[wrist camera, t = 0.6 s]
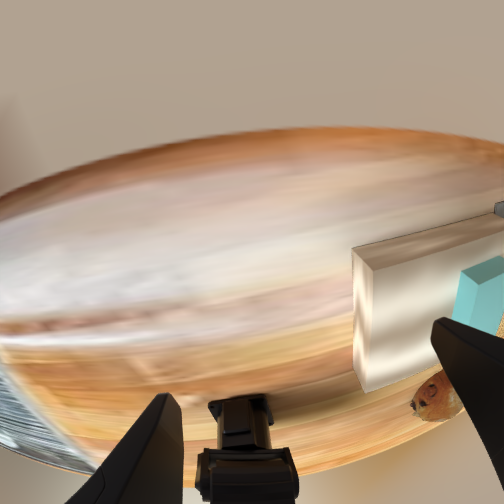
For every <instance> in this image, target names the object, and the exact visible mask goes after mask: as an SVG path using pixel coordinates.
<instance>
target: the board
mask: <svg viewBox="0 0 504 504" xmlns="http://www.w3.org/2000/svg"><path fill="white" fill-rule="evenodd" d="M499 255H500V256H501V257H503V258H504V218H502V217H500V216H497V215H495V214H493V213H490V214H487V215H483V216H479V217H475V218H472V219H468V220H464V221H460V222H456V223H453V224H449V225H445V226H441V227H437V228H433V229H429V230H425V231H421V232H417V233H413V234H409V235H405V236H401V237H397V238H393V239H389V240H385V241H381V242H377V243H373V244H369V245H364V246H360V247H356V248H352V267H353V298H354V335H353V366H352V367H353V369H354V371H355V373H356V375H357V378H358V380H359V382H360V384H361V386H362V388H363V391H364V393H368V392H371V391H374V390H377V389H379V388H382V387H385V386H387V385H390V384H393V383H395V382H398V381H400V380H403V379H405V378H408V377H410V376H412V375H415V374H417V373H419V372H422V371H424V370H426V369H428V368H430V367H432V366H435V365H437V364H439V363H440V361H439V359H438V357H437V355H436V353H435V351H434V349H433V347H432V345H431V341H430V336H431V331H432V326H433V322H434V321H435V320H436V319H438V318H441V317H447V318H450V319H451V318H452V314H453V309H454V305H455V300H456V295H457V290H458V285H459V279H460V273H461V271H462V270H465V269H468V268H470V267H473V266H475V265H477V264H480V263H482V262H485V261H487V260H490V259H492V258H494V257H497V256H499Z"/></svg>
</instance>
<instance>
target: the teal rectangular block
mask: <svg viewBox="0 0 504 504" xmlns="http://www.w3.org/2000/svg"><path fill="white" fill-rule="evenodd" d="M503 312H504V258H503V257H501V256H500V255H499V256H497V257H494V258H492V259H490V260H487V261H485V262H482V263H480V264H477V265H475V266H473V267H470V268H468V269H465V270H462V271H461V273H460V279H459V285H458V290H457V295H456V300H455V305H454V309H453V314H452V318H451V319H452V320H455V321H458V322H460V323H463V324H466V325H468V326H471V327H473V328H476V329H479V330H481V331H484V332H487V333H489V334H492V335H496V332H497V330H498V327H499V324H500V321H501V318H502V315H503Z"/></svg>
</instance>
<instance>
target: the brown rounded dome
mask: <svg viewBox="0 0 504 504" xmlns="http://www.w3.org/2000/svg"><path fill="white" fill-rule="evenodd" d="M410 406H411V407H413V409H414V410H415V411H416V412H414V413H413V414H412V415H413V416H416V417H420V418H421V419H422V420H423V421H424V420H425V421H429V422H443V421H445V420H447V419H451V418H453V417H454V416H456V415H457V414H458V413H459V412H460V410H461V409H462V407H463V406H464V405H463V404H462V402H461V400H460V398H459V397H458V395H457V393H456V391H455V390H454V388H453V386H452V385H451V383H450V381H449V379H448V378H447V376H446V374H445V372H444V370H442V371H440V372H438V373H436V374H435V375H434V376H432V377H431V378H430V379H429V380H427V381H426V382H425V383H424V384H423V385H422V386H421V387H420V388H419V389H418V391H417V392H416V394H415V396H414V398H413V401H412V403H411V404H410Z"/></svg>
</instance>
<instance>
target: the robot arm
mask: <svg viewBox="0 0 504 504" xmlns="http://www.w3.org/2000/svg"><path fill="white" fill-rule="evenodd" d="M430 341H431V345H432V347H433V349H434V351H435V353H436V355H437V357H438V359H439V361H440V363H441V365H442V367H443V370H444V372H445V374H446V376H447V378H448V379H449V381H450V383H451V385H452V386H453V388H454V390H455V391H456V393H457V395H458V397H459V398H460V400H461V402H462V404H463V405H464V407H465V409H466V411H467V412H468V414H469V416H470V418H471V420H472V422H473V424H474V426H475V428H476V430H477V432H478V434H479V436H480V438H481V439H482V442H483V444H484V446H485V448H486V450H487V452H488V454H489V457H490V459H492V460H491V461H492V464H493V466H494V468H495V471H496V473H497V475H498V478H499V480H500V483H501V485H502V488H503V490H504V339H502V338H500V337H497V336H495V335H492V334H489V333H487V332H484V331H481V330H479V329H476V328H473V327H471V326H468V325H466V324H463V323H460V322H458V321H455V320H452V319H450V318H447V317H441V318H438V319H436V320H435V321H434V322H433V326H432V331H431V336H430ZM208 409H209V410H210V412H211V414H212V415H213V417H214V419H215V420H216V422H217V423H218V426H217V449H209V448H204V453H203V452H202V453H201V454H198V461H197V472H196V479H195V488H196V489H197V490H198V491H200V495H202V499H203V501H204V502H210V504H295V499H296V498H297V497H298V494H299V478H298V474H297V471H296V468H295V465H294V462H293V459H292V456H291V453H290V450H289V447H284V448H280V449H272V446H271V439H270V432H269V426H271V425H273V424H274V420H273V417H272V414H271V411H270V408H269V405H268V402H267V398H266V396H265V395H256V396H250V397H244V398H238V399H231V400H224V401H216V402H209V403H208ZM183 464H184V443H183V429H182V412H181V408H180V406H179V405H178V403H177V402H176V400H175V399H174V398H173V396H172V395H171V394H170V393H168V392H167V393H159V394H157V395H156V396H155V398H154V399H153V400H152V401H151V403H150V404H149V405H148V406H147V408H146V409H145V410H144V411H143V413H142V414H141V415H140V417H139V418H138V419H137V420H136V422H135V423H134V424H133V425H132V427H131V428H130V429H129V430H128V432H127V433H126V434H125V435H124V437H123V438H122V439H121V440H120V442H119V443H118V444H117V445H116V447H115V448H114V449H113V450H112V452H111V453H110V454H109V455H108V457H107V458H106V459H105V460H104V462H103V463H102V464H101V466H99V468H98V469H97V470H96V471H95V473H94V474H93V475H92V476H91V477H90V478H89V480H88V481H87V482H86V483H85V484H84V485H83V486H82V487H81V488H80V489H79V490H78V491H77V492H76V493H75V494H74V495H73V496H72V497H71V498H70V499H69V500H68V501H67V502H66V503H64V504H182V499H183V498H182V497H183Z"/></svg>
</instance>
